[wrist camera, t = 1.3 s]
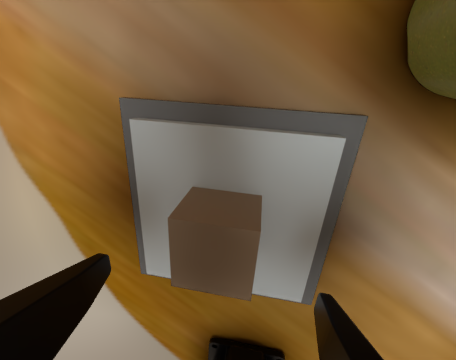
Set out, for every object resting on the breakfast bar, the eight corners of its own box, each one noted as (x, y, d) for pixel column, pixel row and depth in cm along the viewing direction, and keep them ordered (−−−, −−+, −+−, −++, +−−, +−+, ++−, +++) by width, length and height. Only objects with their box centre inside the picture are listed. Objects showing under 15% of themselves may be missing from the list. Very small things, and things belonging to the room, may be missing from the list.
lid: (299, 292, 15) (310, 361, 11) (152, 265, 16) (117, 318, 12) (340, 135, 11) (382, 158, 7) (137, 117, 12) (78, 128, 8)
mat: (310, 300, 16) (311, 305, 15) (143, 269, 17) (141, 273, 17) (364, 115, 11) (368, 116, 10) (123, 97, 12) (118, 97, 12)
